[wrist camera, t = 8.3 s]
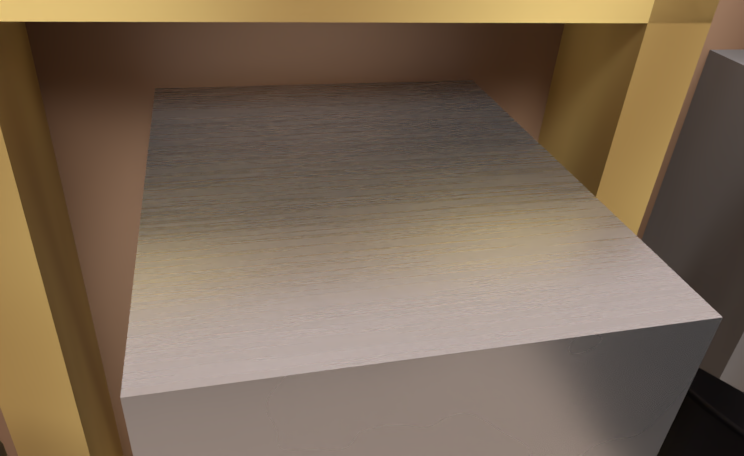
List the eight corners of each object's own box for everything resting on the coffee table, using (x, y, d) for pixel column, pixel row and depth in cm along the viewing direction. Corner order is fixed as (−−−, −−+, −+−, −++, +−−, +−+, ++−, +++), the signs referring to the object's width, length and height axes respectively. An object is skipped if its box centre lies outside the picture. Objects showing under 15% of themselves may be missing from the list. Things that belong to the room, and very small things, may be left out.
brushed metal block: (472, 80, 10) (723, 316, 6) (426, 380, 14) (551, 676, 9) (155, 88, 9) (120, 397, 4) (197, 412, 13) (203, 771, 8)
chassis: (919, -135, 11) (1211, -113, 8) (668, 401, 19) (768, 523, 16) (-302, -234, 7) (-718, -270, 4) (5, 509, 15) (-46, 708, 11)
